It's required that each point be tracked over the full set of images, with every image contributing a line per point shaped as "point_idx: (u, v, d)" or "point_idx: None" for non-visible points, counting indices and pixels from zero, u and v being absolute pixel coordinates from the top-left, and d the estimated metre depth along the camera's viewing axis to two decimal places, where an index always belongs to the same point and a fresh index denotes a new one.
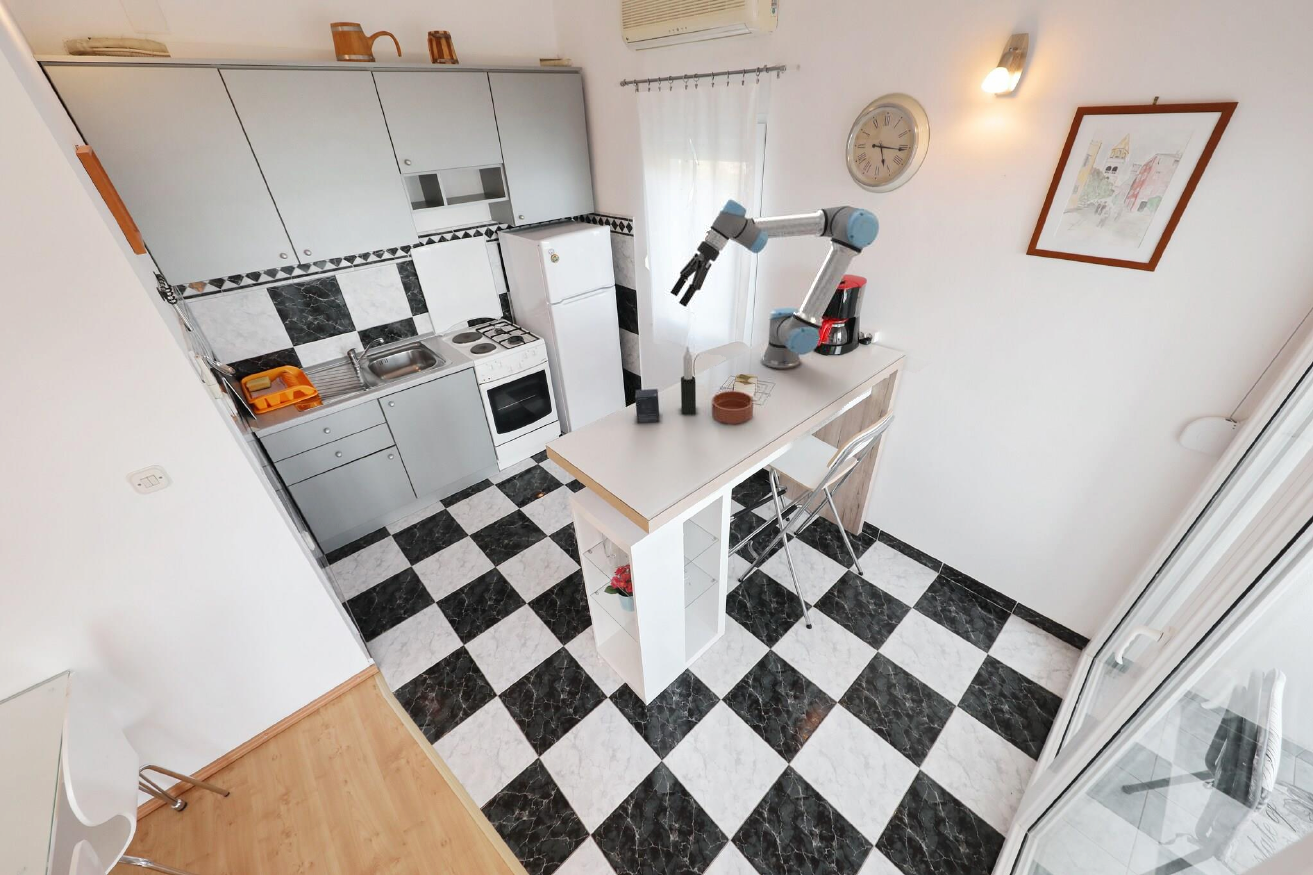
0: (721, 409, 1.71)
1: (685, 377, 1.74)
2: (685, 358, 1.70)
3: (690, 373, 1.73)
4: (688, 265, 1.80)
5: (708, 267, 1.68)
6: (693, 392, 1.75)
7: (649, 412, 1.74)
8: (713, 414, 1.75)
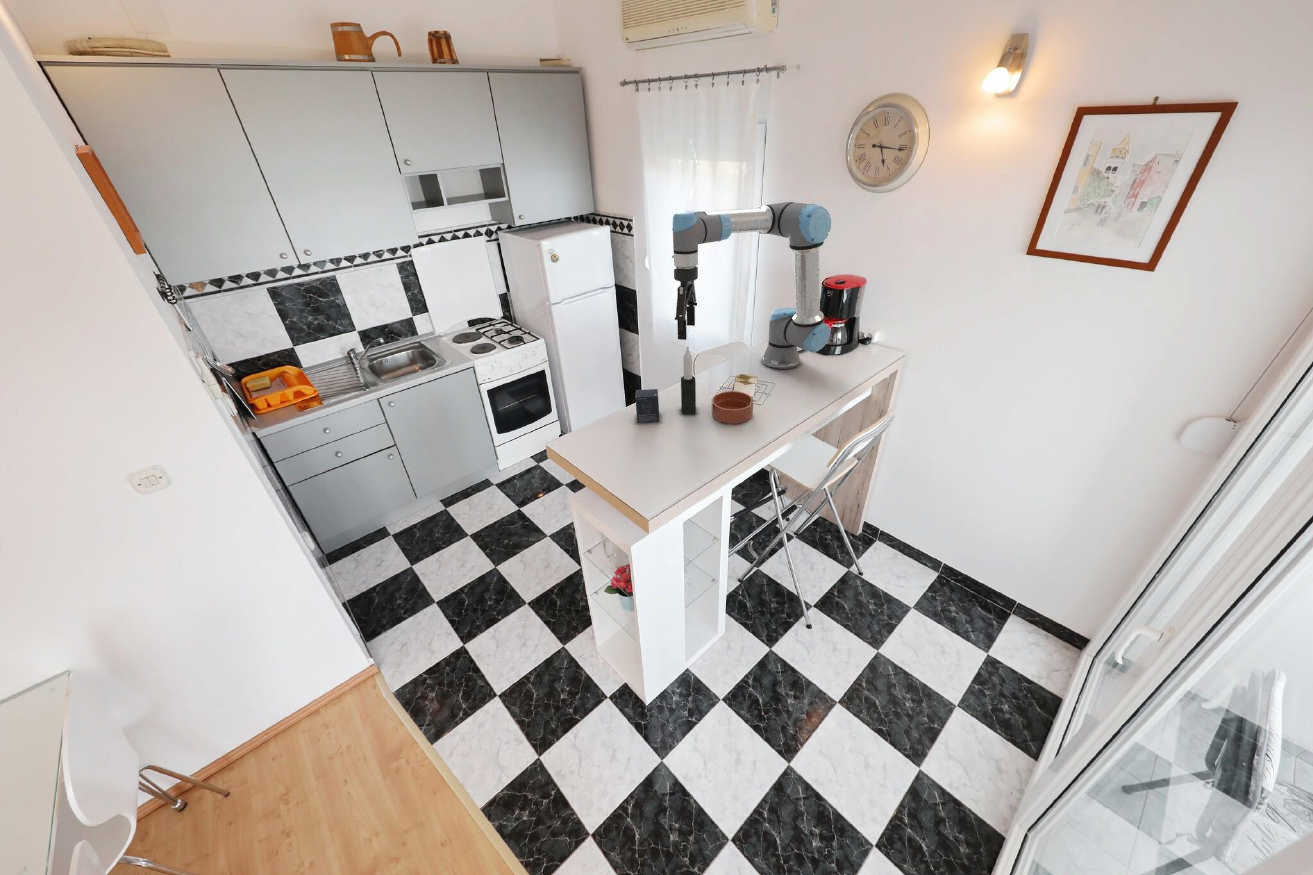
0: (721, 409, 1.71)
1: (685, 377, 1.74)
2: (685, 358, 1.70)
3: (690, 373, 1.73)
4: None
5: (683, 292, 1.53)
6: (693, 392, 1.75)
7: (649, 412, 1.74)
8: (713, 414, 1.75)
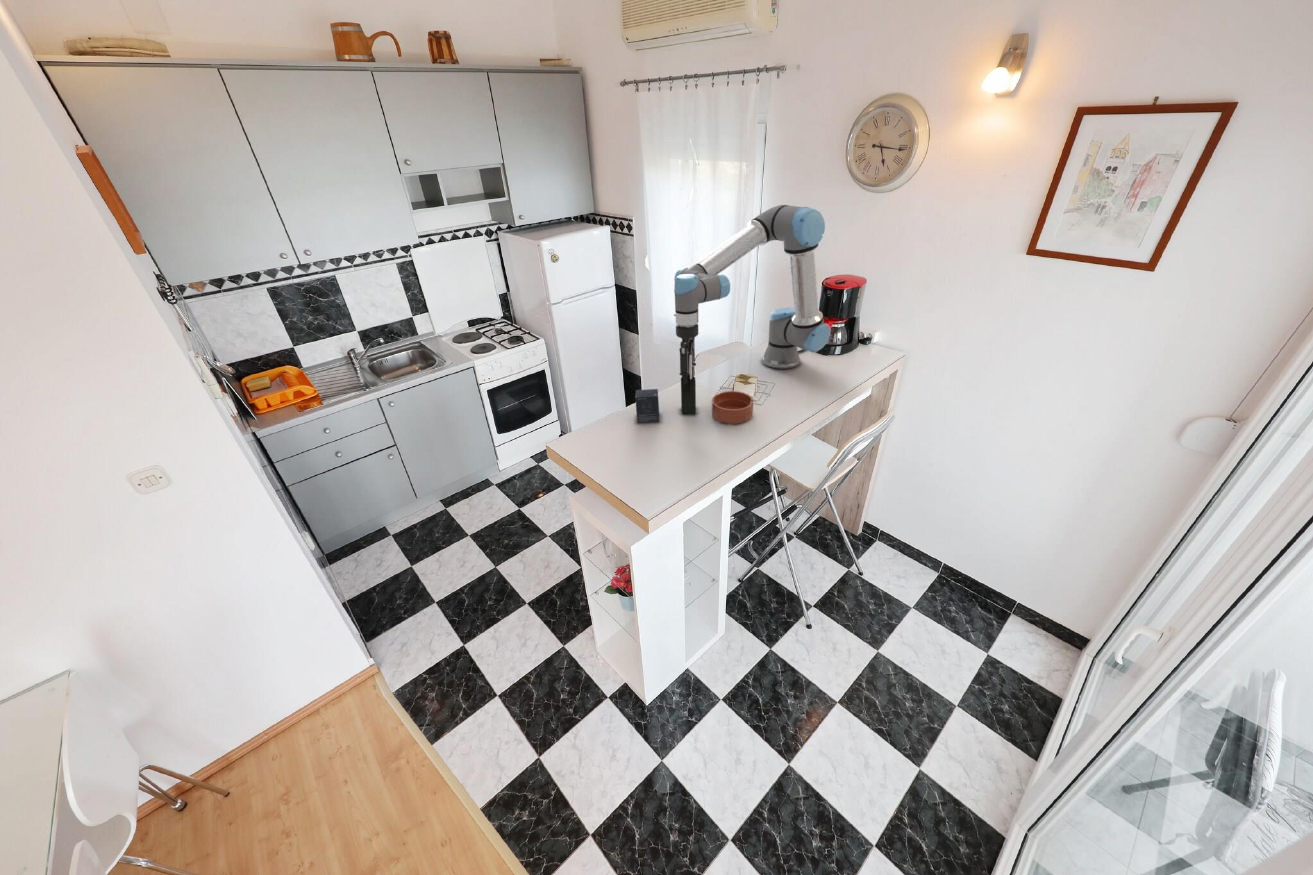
0: (721, 409, 1.71)
1: None
2: None
3: (690, 373, 1.73)
4: None
5: (685, 353, 1.64)
6: (693, 392, 1.75)
7: (649, 412, 1.74)
8: (713, 414, 1.75)
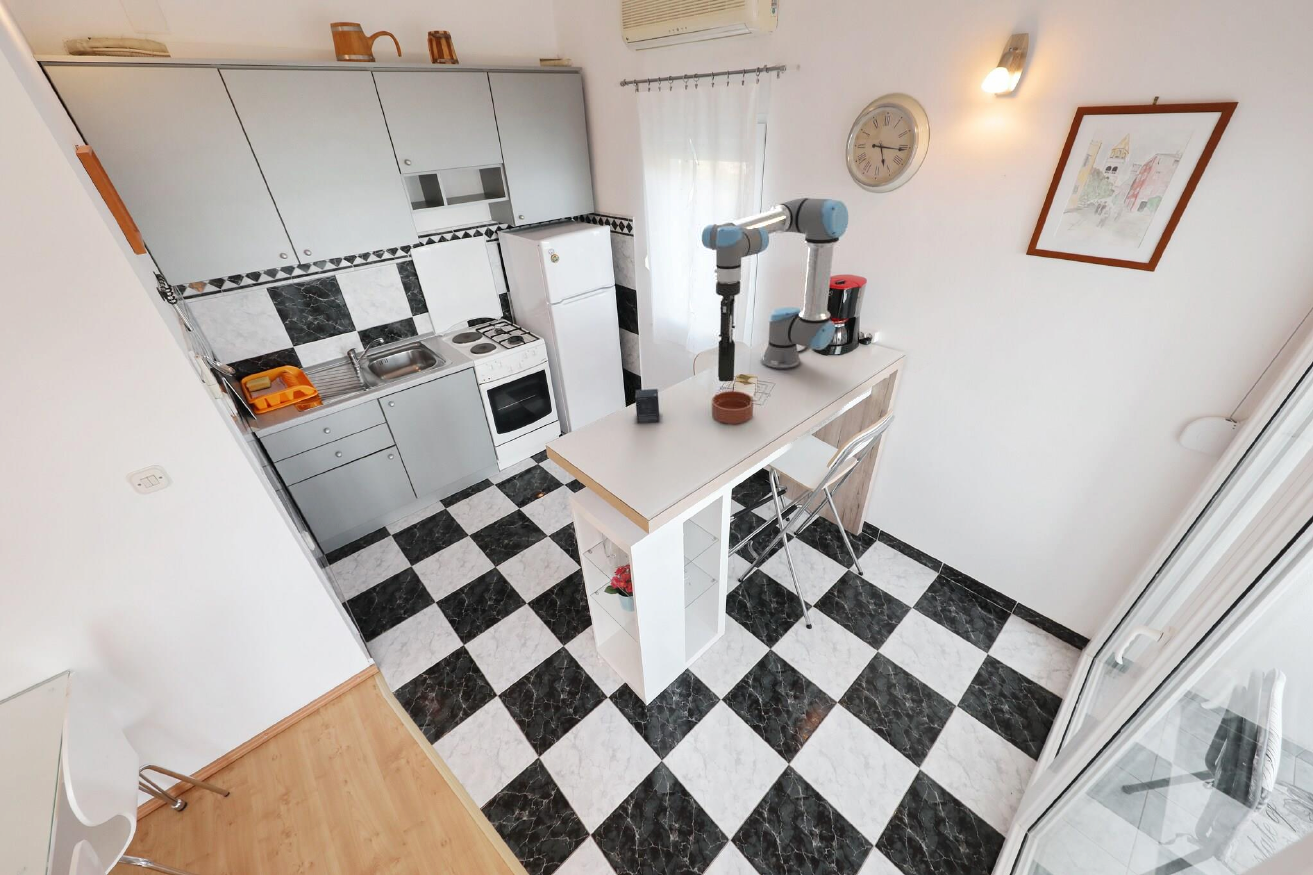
0: (721, 409, 1.71)
1: None
2: None
3: None
4: None
5: (726, 312, 1.53)
6: (732, 356, 1.65)
7: (649, 412, 1.74)
8: (713, 414, 1.75)
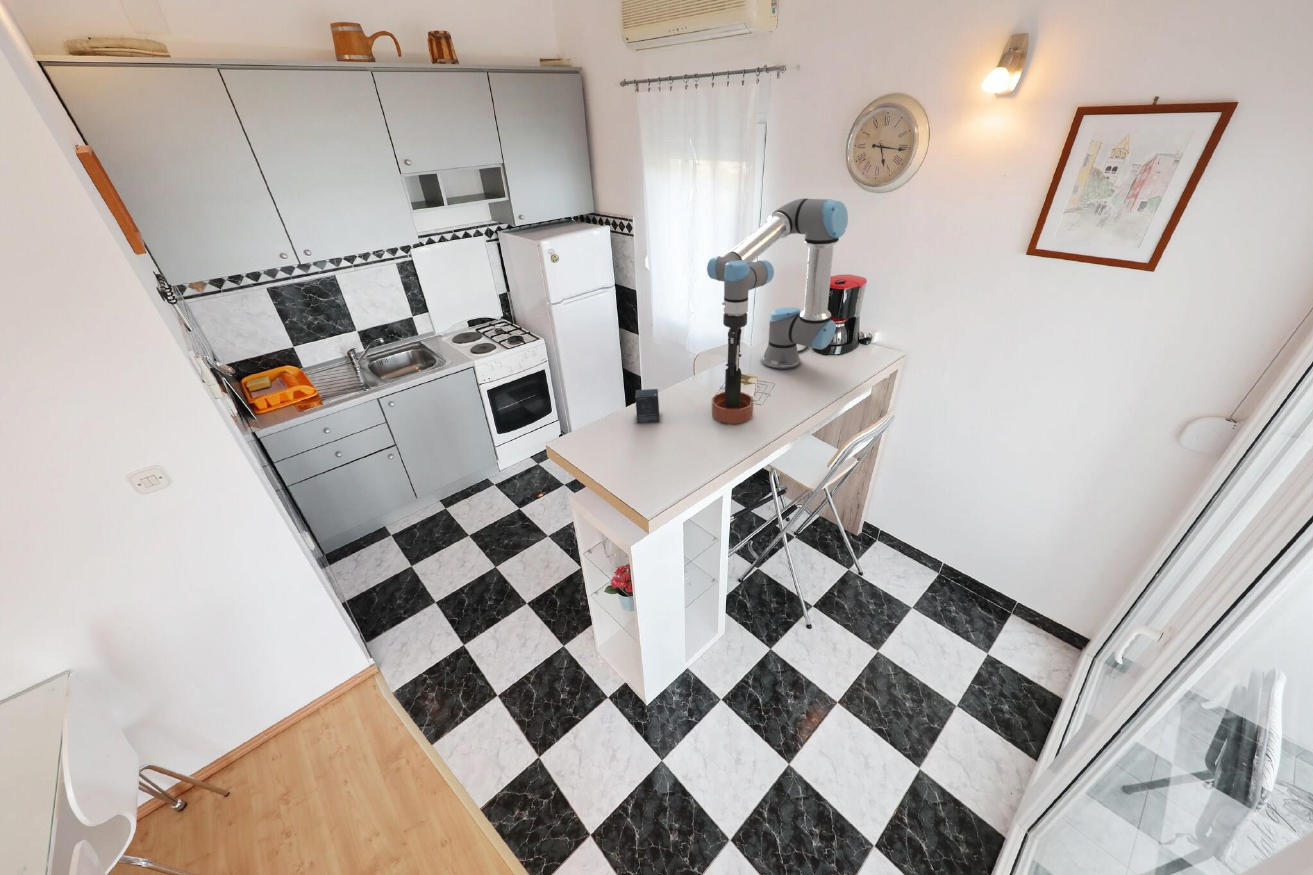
0: (721, 409, 1.71)
1: None
2: None
3: None
4: None
5: (734, 343, 1.57)
6: (739, 384, 1.69)
7: (649, 412, 1.74)
8: (713, 414, 1.75)
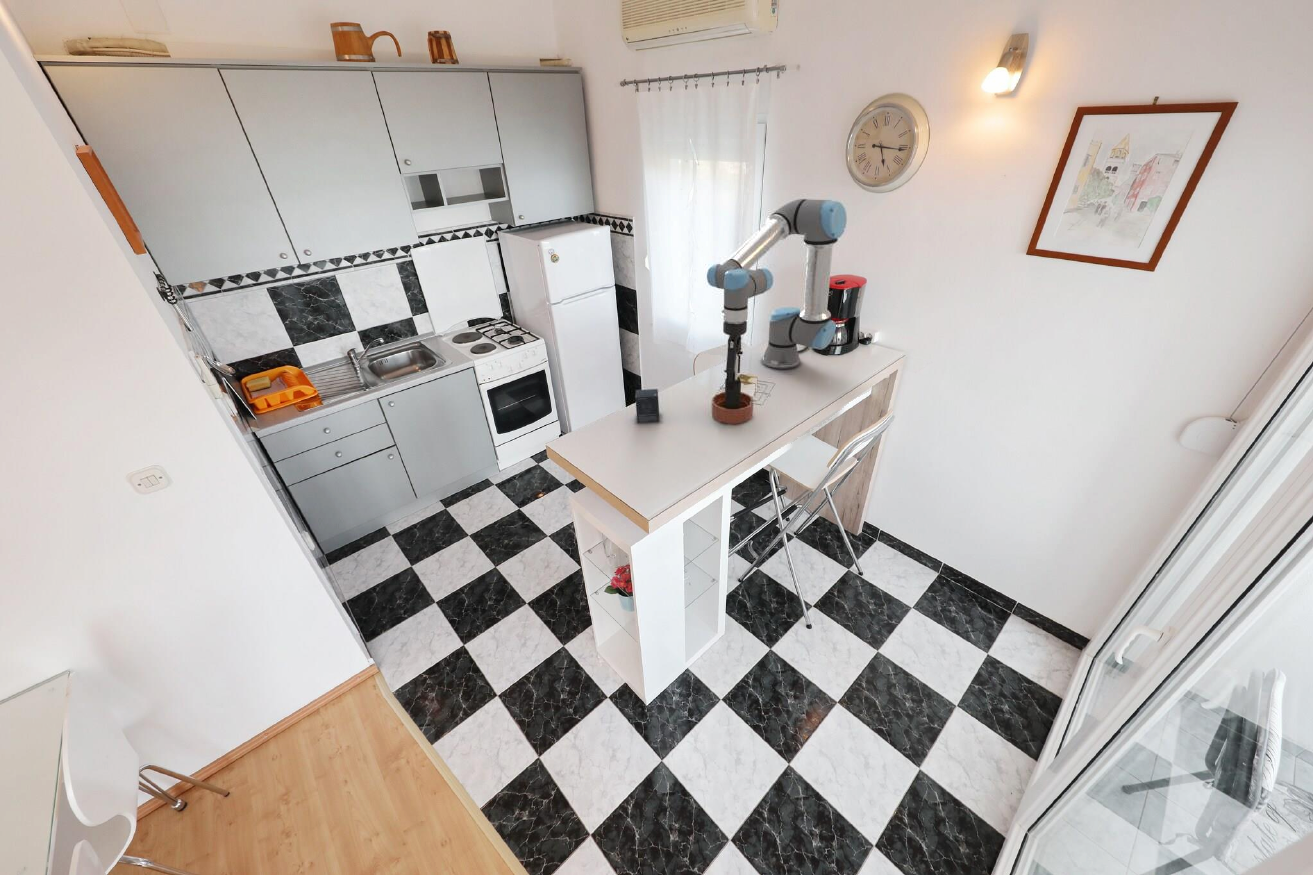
0: (721, 409, 1.71)
1: None
2: None
3: (735, 374, 1.69)
4: None
5: (733, 347, 1.58)
6: (738, 393, 1.71)
7: (649, 412, 1.74)
8: (713, 414, 1.75)
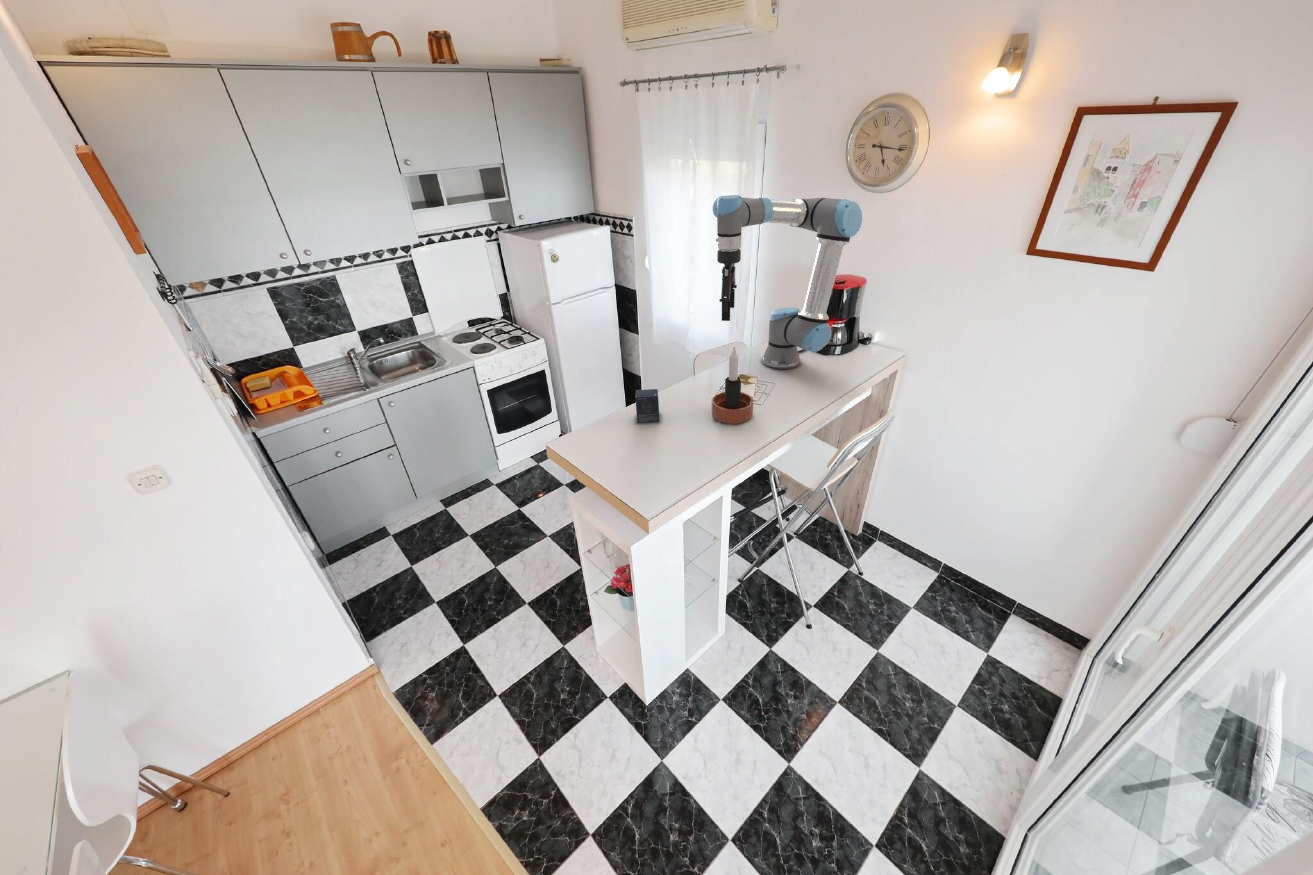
0: (721, 409, 1.71)
1: (730, 378, 1.70)
2: (731, 359, 1.66)
3: (735, 374, 1.69)
4: None
5: (728, 274, 1.58)
6: (738, 393, 1.71)
7: (649, 412, 1.74)
8: (713, 414, 1.75)
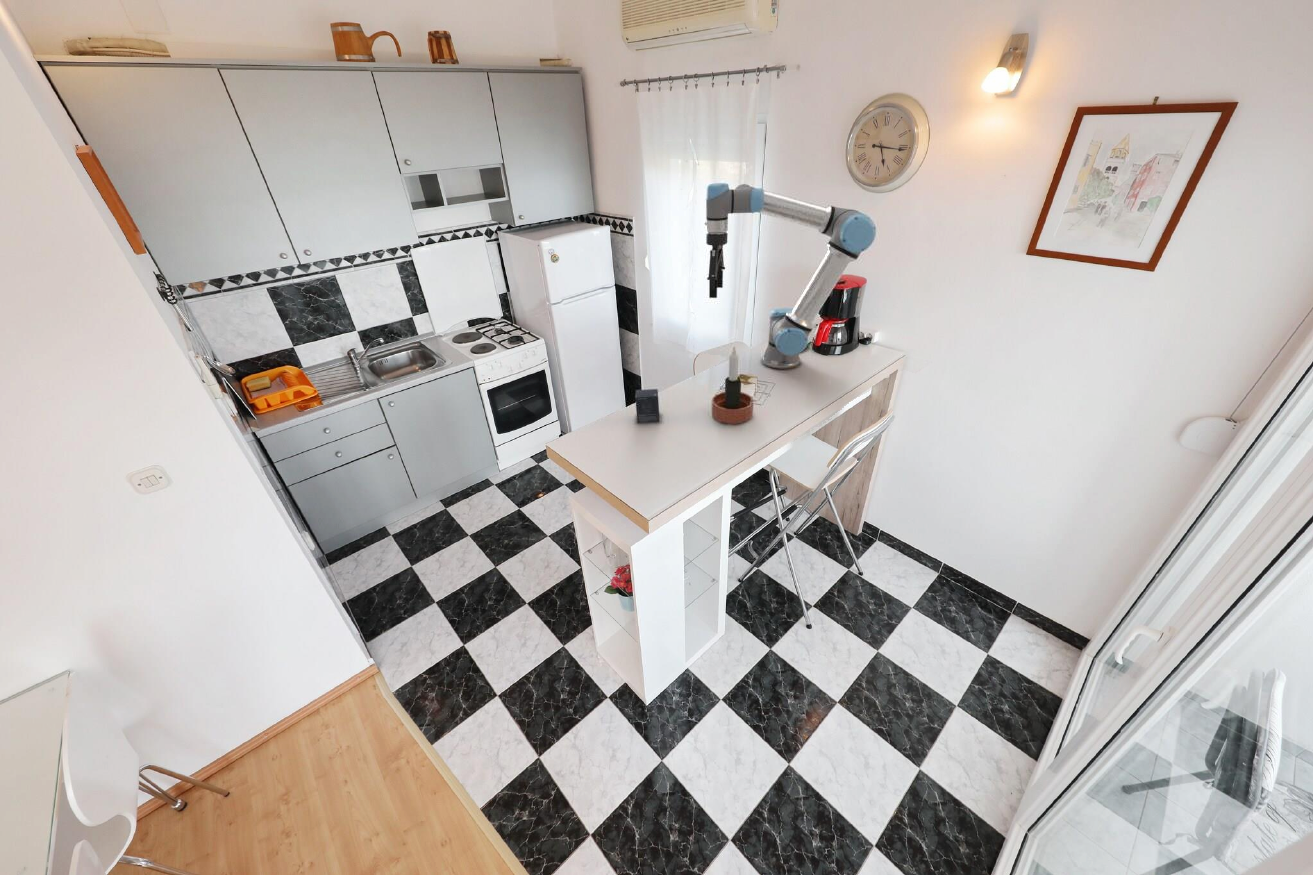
0: (721, 409, 1.71)
1: (730, 378, 1.70)
2: (731, 359, 1.66)
3: (735, 374, 1.69)
4: None
5: (715, 255, 1.74)
6: (738, 393, 1.71)
7: (649, 412, 1.74)
8: (713, 414, 1.75)
